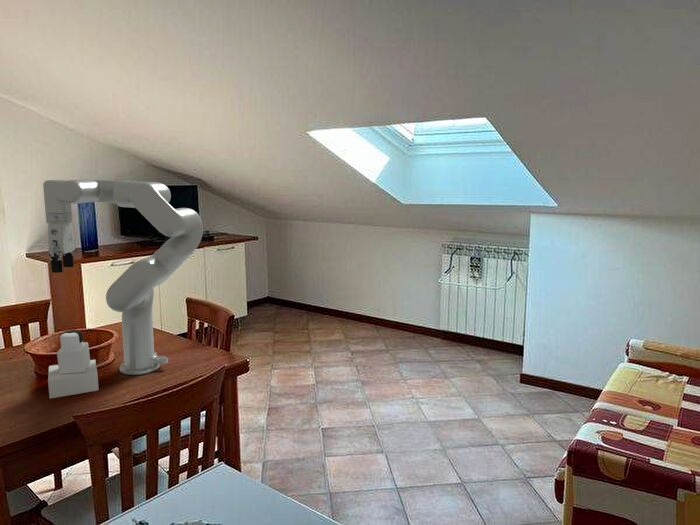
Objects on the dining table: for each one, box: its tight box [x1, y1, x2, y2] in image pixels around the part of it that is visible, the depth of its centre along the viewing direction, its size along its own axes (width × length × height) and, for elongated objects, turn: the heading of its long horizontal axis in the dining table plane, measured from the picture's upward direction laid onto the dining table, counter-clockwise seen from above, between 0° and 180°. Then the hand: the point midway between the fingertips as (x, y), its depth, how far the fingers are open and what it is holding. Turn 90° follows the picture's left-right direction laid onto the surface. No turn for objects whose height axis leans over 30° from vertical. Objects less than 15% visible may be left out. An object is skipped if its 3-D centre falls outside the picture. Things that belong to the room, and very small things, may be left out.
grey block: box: [47, 359, 100, 399], centre depth 160 cm, size 13×13×6 cm
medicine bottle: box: [56, 329, 91, 374], centre depth 158 cm, size 7×7×12 cm
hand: (63, 269), depth 172 cm, fingers open, 9 cm apart
